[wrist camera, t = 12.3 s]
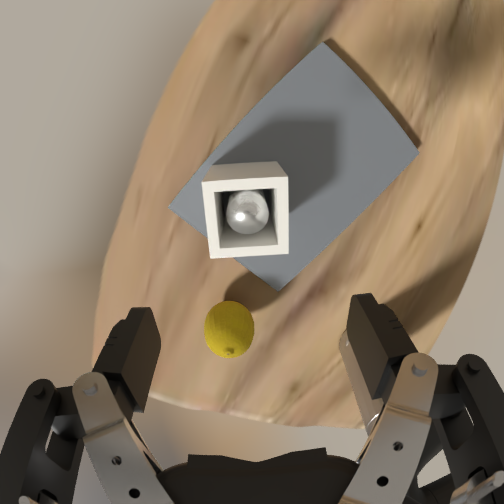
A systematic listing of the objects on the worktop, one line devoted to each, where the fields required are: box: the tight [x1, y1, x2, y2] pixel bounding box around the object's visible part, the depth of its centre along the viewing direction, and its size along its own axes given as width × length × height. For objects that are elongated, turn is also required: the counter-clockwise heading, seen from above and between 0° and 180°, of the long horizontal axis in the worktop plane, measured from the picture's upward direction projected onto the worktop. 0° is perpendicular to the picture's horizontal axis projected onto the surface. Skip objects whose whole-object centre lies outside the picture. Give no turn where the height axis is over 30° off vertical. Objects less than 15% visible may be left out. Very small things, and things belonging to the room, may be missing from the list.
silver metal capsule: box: [226, 189, 269, 234], centre depth 25 cm, size 3×3×6 cm
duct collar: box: [202, 161, 289, 258], centre depth 24 cm, size 6×6×7 cm
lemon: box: [204, 301, 254, 358], centre depth 31 cm, size 6×6×8 cm
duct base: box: [168, 42, 419, 291], centre depth 27 cm, size 15×22×2 cm
